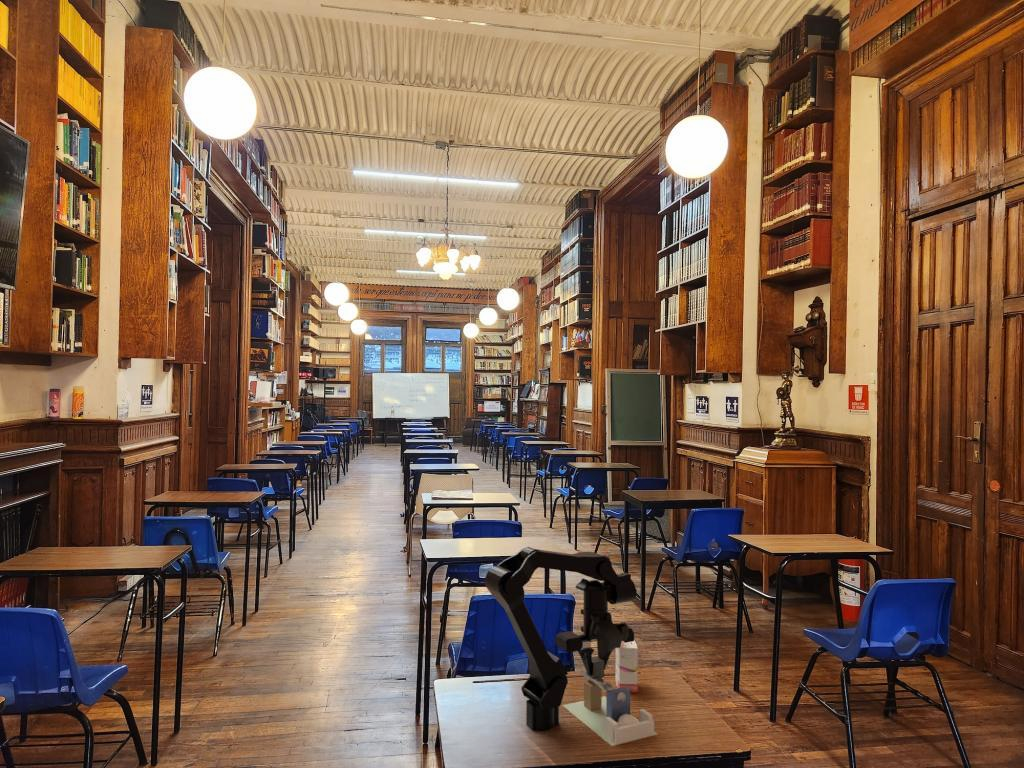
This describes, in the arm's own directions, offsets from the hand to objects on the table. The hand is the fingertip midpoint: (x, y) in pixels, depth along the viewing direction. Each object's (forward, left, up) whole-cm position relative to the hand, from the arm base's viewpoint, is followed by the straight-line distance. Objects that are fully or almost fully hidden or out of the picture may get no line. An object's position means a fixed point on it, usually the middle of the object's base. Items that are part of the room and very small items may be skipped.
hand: (595, 673), depth 157 cm
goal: (0, -14, -8) cm, 16 cm away
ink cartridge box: (+15, +9, -10) cm, 20 cm away
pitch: (0, -5, -9) cm, 11 cm away
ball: (0, -13, -6) cm, 14 cm away
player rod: (0, -3, -8) cm, 8 cm away
